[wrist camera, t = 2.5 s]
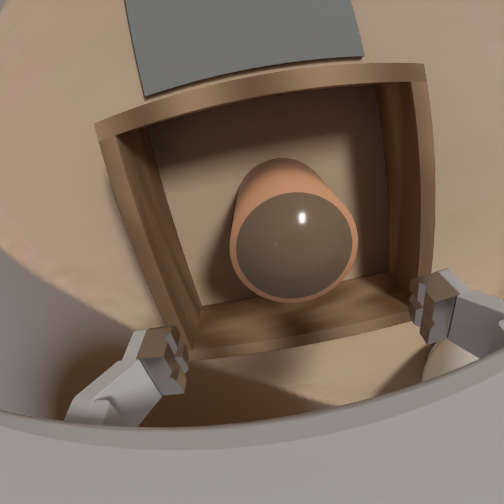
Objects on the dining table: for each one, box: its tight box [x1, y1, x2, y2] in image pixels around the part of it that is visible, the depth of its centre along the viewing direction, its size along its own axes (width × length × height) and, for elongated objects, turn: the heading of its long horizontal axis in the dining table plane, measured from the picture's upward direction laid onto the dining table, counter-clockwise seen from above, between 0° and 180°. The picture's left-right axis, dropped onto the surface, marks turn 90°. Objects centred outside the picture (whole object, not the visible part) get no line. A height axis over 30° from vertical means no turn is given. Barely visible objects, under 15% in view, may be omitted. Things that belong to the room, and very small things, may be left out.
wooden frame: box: [94, 63, 435, 361], centre depth 18 cm, size 17×16×5 cm
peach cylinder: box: [229, 158, 358, 303], centre depth 17 cm, size 6×6×7 cm
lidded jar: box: [422, 339, 479, 382], centre depth 23 cm, size 11×11×9 cm
